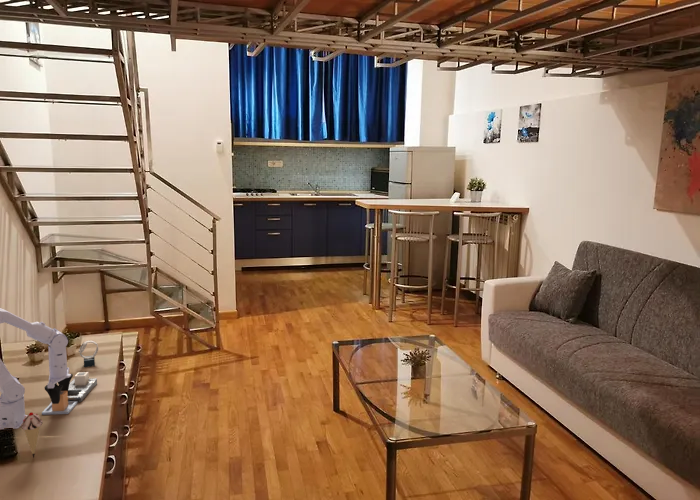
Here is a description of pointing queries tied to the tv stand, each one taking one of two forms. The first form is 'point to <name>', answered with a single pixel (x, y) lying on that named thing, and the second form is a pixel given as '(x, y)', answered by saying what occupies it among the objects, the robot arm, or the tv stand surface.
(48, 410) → the tray
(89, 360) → the watch
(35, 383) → the tv stand surface
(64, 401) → the plug
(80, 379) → the beige box
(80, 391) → the grey rectangular holder
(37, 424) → the ice cream cone
